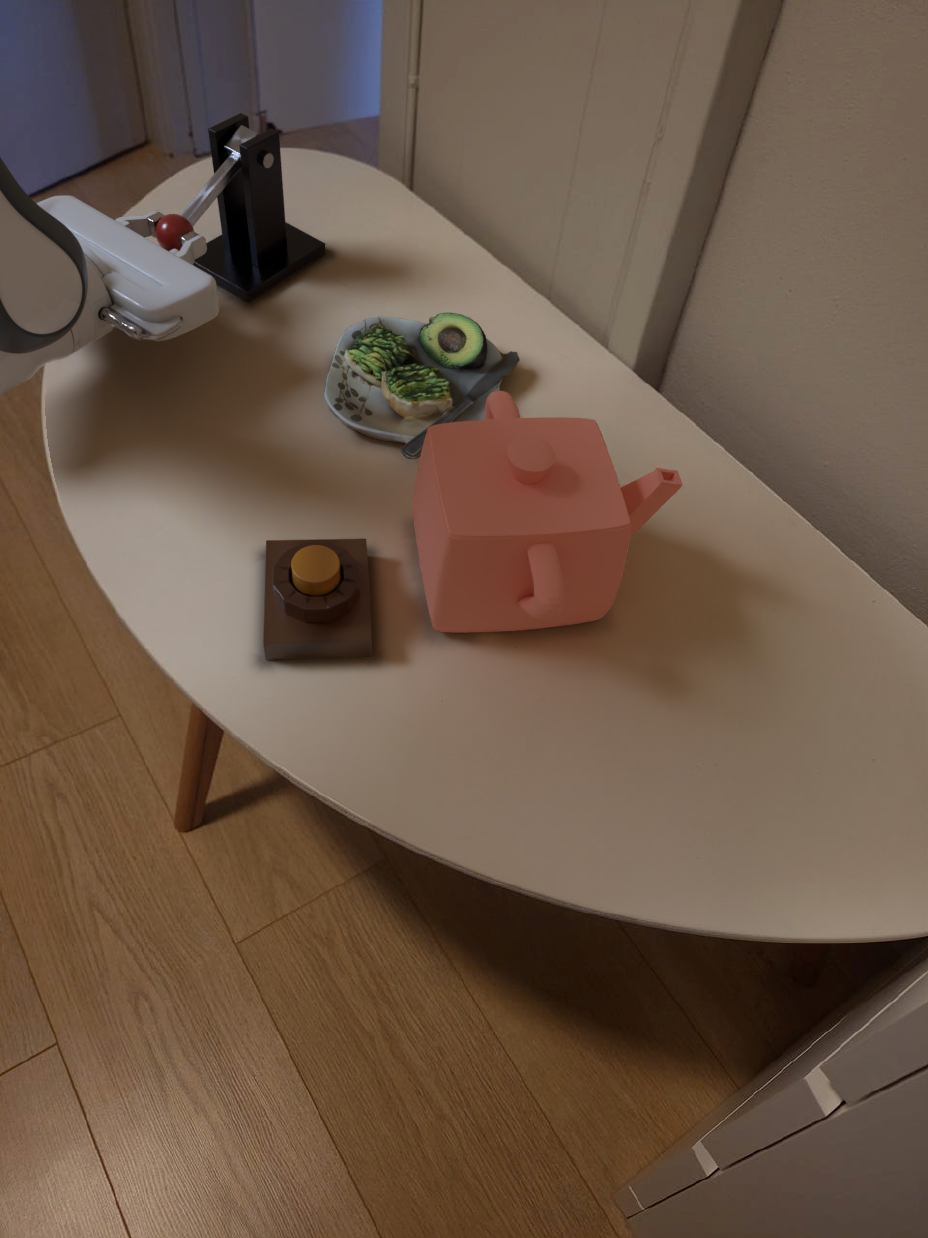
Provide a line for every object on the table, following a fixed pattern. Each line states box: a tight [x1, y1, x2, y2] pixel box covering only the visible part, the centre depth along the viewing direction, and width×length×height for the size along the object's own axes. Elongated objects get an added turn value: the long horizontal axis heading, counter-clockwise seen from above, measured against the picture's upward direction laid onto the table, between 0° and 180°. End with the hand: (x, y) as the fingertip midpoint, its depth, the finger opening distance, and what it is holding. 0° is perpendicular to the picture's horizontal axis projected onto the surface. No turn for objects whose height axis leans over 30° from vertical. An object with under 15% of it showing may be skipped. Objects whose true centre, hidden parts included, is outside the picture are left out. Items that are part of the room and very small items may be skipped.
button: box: [291, 545, 340, 596], centre depth 69 cm, size 4×4×2 cm
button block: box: [262, 538, 373, 661], centre depth 71 cm, size 8×10×4 cm
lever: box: [155, 125, 260, 251], centre depth 87 cm, size 14×4×4 cm, turn 144°
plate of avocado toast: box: [323, 312, 521, 461], centre depth 85 cm, size 19×18×5 cm
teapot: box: [412, 390, 684, 633], centre depth 71 cm, size 20×22×14 cm
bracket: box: [193, 112, 326, 304], centre depth 92 cm, size 12×9×14 cm
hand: (182, 229), depth 87 cm, fingers closed on lever, 3 cm apart
